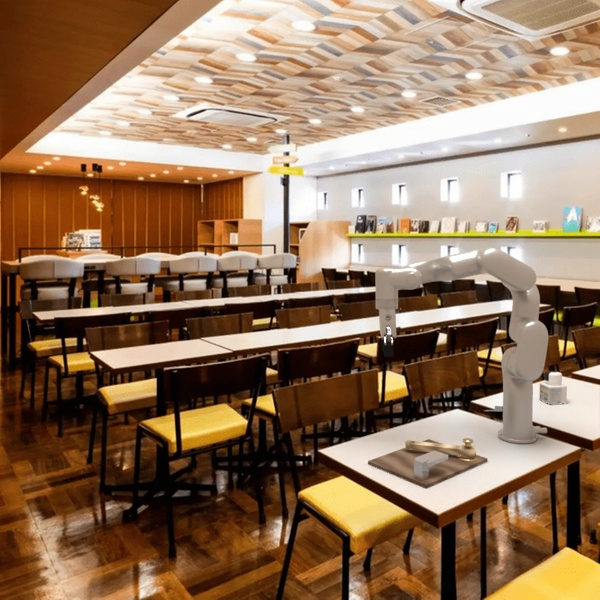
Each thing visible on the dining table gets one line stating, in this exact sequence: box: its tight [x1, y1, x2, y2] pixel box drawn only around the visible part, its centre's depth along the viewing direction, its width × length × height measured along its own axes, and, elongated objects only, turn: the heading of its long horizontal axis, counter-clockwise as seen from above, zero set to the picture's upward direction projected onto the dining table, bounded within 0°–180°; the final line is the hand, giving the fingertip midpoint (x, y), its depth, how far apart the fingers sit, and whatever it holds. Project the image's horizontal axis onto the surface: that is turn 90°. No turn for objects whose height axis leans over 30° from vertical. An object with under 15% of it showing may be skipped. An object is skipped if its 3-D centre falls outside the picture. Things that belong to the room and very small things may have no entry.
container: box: [539, 370, 568, 405], centre depth 232 cm, size 8×8×13 cm
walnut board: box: [367, 438, 488, 489], centre depth 172 cm, size 29×23×1 cm
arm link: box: [405, 440, 477, 458], centre depth 176 cm, size 22×5×2 cm, turn 68°
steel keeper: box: [414, 450, 448, 480], centre depth 162 cm, size 10×5×5 cm, turn 128°
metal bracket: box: [483, 405, 503, 412], centre depth 217 cm, size 14×6×15 cm
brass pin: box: [457, 437, 479, 462], centre depth 173 cm, size 6×6×6 cm
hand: (387, 353), depth 190 cm, fingers open, 9 cm apart
